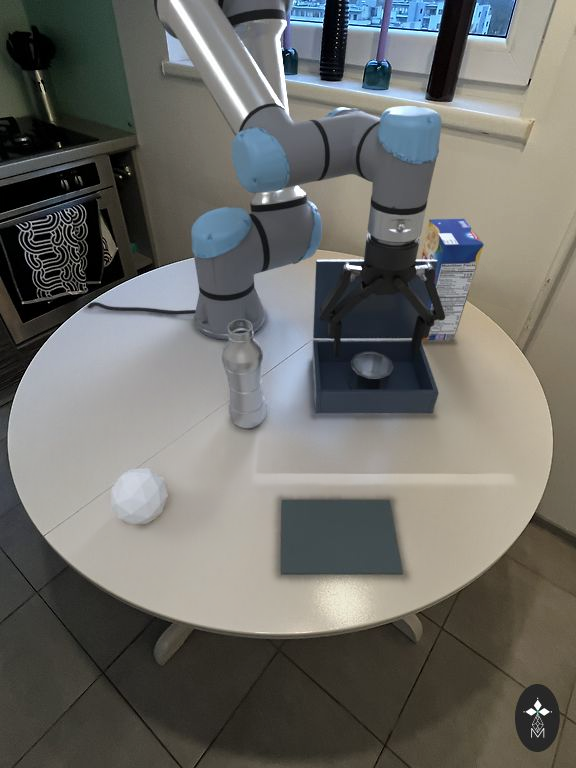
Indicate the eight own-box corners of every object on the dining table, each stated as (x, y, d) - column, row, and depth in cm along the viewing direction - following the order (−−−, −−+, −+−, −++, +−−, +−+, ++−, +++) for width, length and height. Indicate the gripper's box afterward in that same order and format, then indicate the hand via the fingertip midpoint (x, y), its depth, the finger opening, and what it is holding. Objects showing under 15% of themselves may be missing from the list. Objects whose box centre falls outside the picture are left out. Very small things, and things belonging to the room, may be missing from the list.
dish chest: (431, 416, 80) (439, 392, 76) (315, 416, 80) (316, 392, 76) (414, 362, 90) (420, 339, 86) (311, 362, 90) (313, 339, 87)
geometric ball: (135, 519, 68) (99, 482, 65) (178, 486, 69) (145, 448, 66) (133, 547, 61) (93, 506, 58) (181, 510, 62) (144, 468, 59)
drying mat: (280, 574, 59) (280, 572, 59) (281, 501, 67) (281, 499, 67) (402, 574, 59) (403, 572, 59) (389, 501, 67) (389, 499, 67)
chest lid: (438, 261, 76) (436, 259, 77) (316, 261, 76) (315, 259, 77) (421, 338, 86) (420, 336, 86) (313, 338, 86) (313, 336, 87)
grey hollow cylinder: (350, 398, 82) (353, 378, 78) (346, 371, 87) (349, 351, 84) (391, 398, 82) (396, 378, 78) (385, 371, 87) (389, 351, 84)
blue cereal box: (420, 343, 95) (445, 245, 80) (408, 313, 103) (429, 219, 88) (453, 342, 95) (483, 244, 80) (438, 313, 103) (464, 218, 88)
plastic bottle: (272, 410, 81) (269, 317, 67) (258, 437, 76) (251, 344, 63) (239, 401, 82) (229, 309, 69) (223, 428, 78) (209, 335, 64)
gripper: (306, 247, 62) (304, 365, 76) (489, 246, 62) (452, 365, 76) (305, 224, 67) (303, 338, 82) (473, 223, 67) (441, 338, 81)
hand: (375, 351), depth 79 cm, fingers open, 13 cm apart
